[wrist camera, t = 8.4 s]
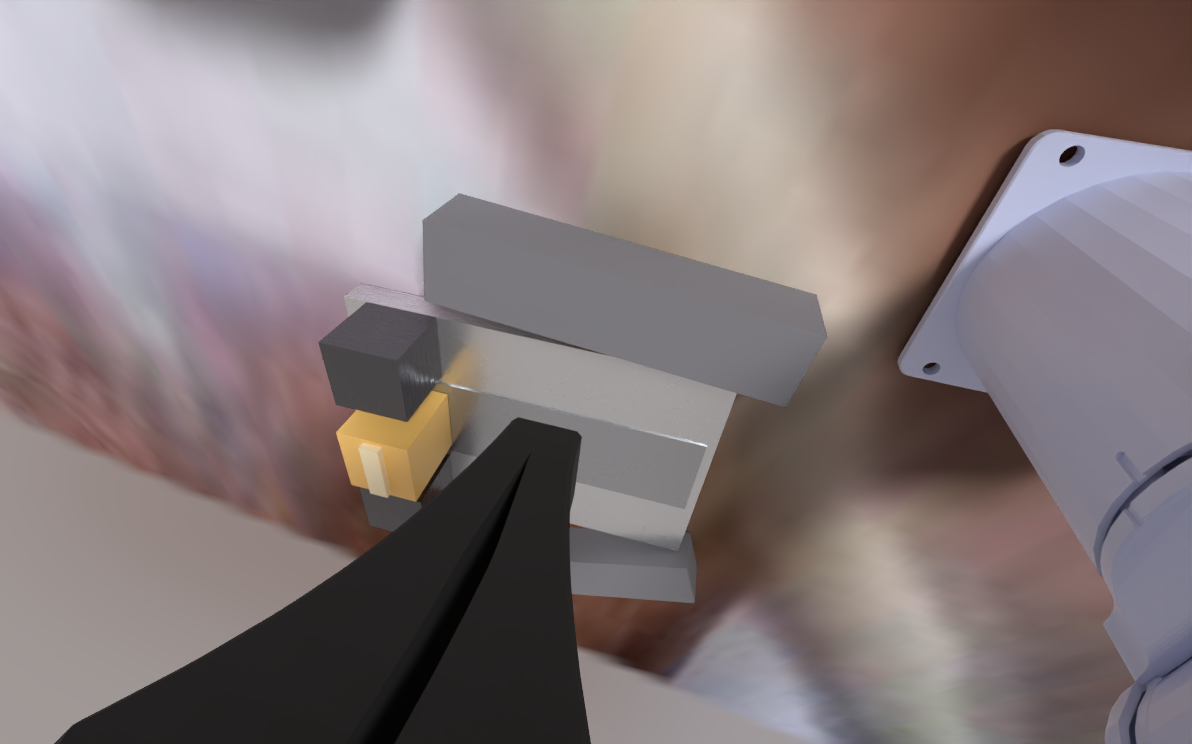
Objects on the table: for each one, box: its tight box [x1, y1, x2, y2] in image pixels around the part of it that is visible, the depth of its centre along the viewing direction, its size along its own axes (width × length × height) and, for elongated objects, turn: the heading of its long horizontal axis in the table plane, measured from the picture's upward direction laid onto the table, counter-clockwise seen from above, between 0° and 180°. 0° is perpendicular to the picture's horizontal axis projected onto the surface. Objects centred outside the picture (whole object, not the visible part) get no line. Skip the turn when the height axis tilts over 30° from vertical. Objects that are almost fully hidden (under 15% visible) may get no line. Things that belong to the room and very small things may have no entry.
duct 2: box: [569, 528, 697, 603], centre depth 29 cm, size 13×3×2 cm, turn 104°
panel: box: [319, 283, 737, 551], centre depth 22 cm, size 16×11×4 cm
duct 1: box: [423, 193, 827, 407], centre depth 18 cm, size 13×3×3 cm, turn 79°
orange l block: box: [336, 390, 452, 502], centre depth 22 cm, size 3×3×4 cm
